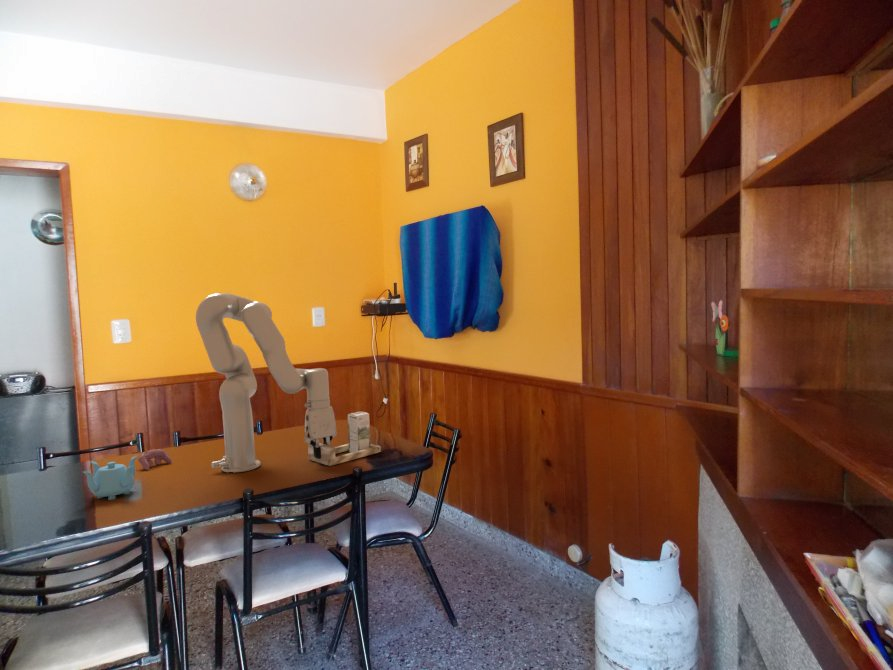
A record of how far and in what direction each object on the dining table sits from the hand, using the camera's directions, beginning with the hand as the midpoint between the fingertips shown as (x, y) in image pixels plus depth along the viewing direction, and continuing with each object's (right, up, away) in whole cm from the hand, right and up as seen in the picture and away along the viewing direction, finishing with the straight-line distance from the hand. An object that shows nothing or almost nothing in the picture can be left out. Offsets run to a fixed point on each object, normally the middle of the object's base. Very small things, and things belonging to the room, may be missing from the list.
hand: (321, 456), depth 198 cm
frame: (+7, -1, +7) cm, 10 cm away
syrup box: (+11, -1, +12) cm, 17 cm away
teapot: (-57, -6, -26) cm, 63 cm away
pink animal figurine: (-60, -5, +5) cm, 60 cm away
